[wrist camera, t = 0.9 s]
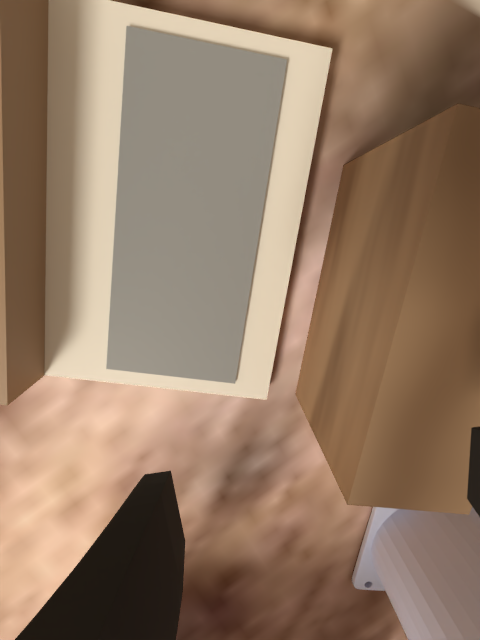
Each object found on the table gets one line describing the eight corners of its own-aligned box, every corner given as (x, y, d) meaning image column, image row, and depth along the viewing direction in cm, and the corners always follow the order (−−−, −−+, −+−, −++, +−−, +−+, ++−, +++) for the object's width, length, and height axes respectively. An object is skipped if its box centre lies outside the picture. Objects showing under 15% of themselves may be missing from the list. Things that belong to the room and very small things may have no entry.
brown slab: (431, 181, 16) (620, 137, 9) (371, 402, 19) (472, 514, 12) (342, 165, 16) (458, 103, 8) (294, 393, 19) (347, 504, 11)
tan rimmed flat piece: (325, 60, 15) (363, -1, 11) (264, 391, 19) (275, 432, 15) (40, 0, 14) (-31, -92, 10) (38, 365, 17) (-14, 403, 14)
